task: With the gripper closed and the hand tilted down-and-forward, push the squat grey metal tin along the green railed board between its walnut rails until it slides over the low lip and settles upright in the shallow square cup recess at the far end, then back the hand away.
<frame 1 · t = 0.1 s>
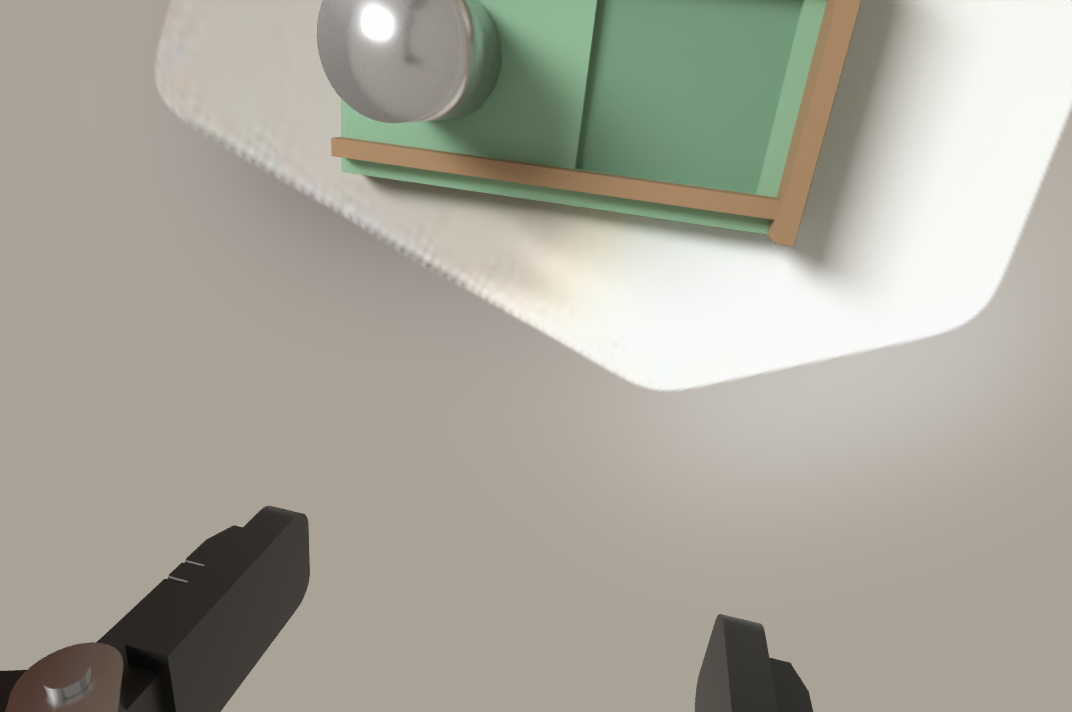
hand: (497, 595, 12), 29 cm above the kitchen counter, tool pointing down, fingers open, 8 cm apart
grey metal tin: (443, 55, 35), point 2 cm above the kitchen counter, touching green railed board
green railed board: (574, 71, 35), on the kitchen counter
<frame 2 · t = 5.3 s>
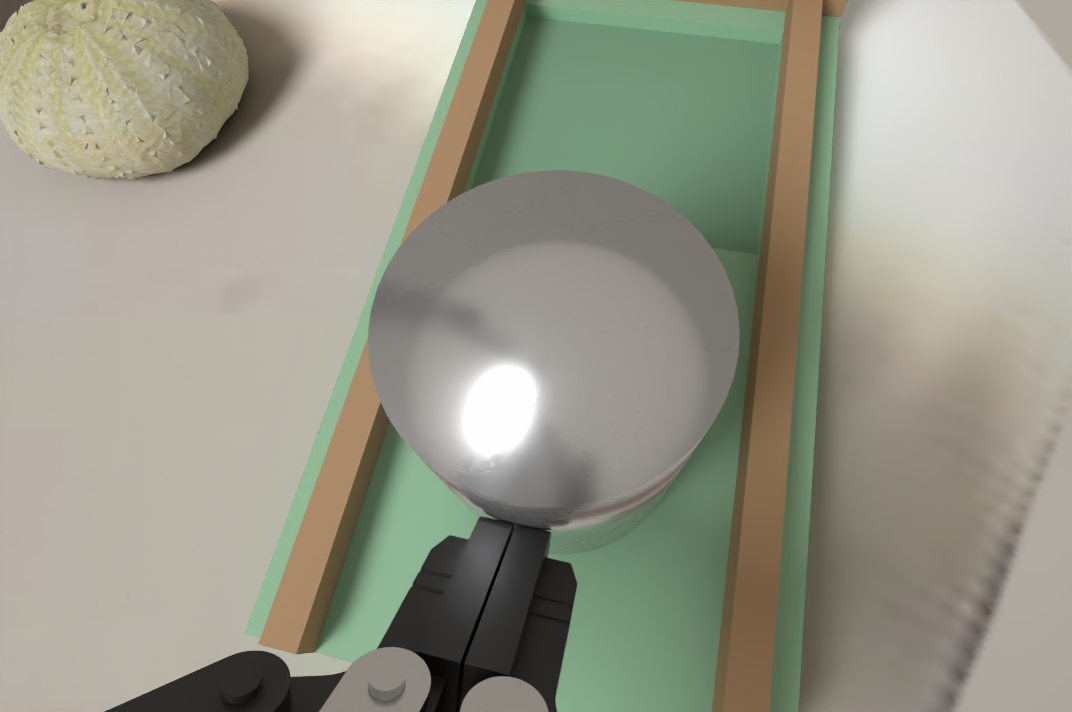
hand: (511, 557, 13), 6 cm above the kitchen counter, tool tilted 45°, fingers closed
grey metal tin: (560, 434, 18), point 2 cm above the kitchen counter, touching gripper, green railed board
green railed board: (596, 287, 22), on the kitchen counter
sea urchin shell: (159, 114, 27), on the kitchen counter
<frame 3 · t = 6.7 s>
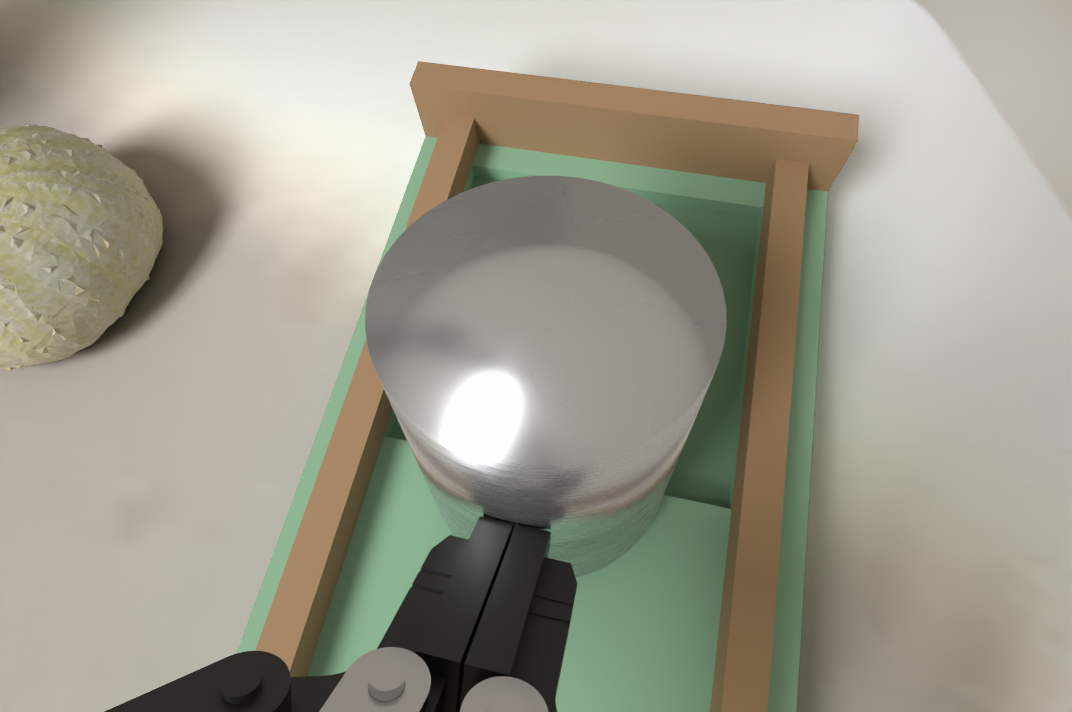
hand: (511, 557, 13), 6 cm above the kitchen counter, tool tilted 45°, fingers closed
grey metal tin: (547, 460, 18), point 2 cm above the kitchen counter, tilted 10°, touching gripper, green railed board
green railed board: (546, 517, 19), on the kitchen counter
sea urchin shell: (65, 276, 24), on the kitchen counter
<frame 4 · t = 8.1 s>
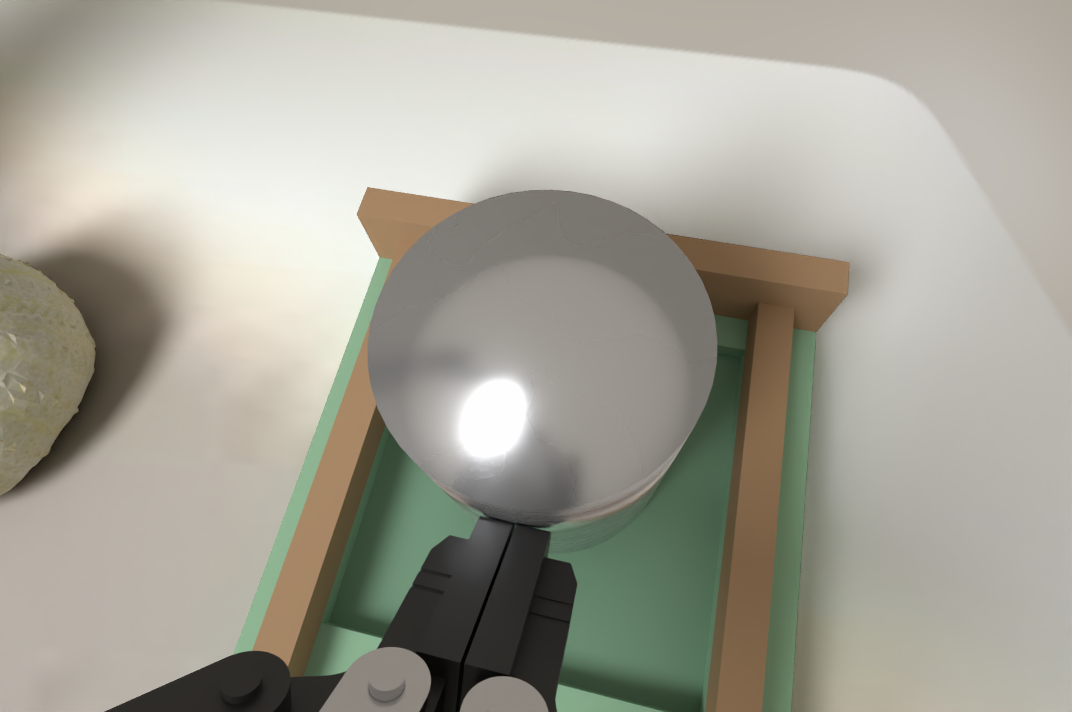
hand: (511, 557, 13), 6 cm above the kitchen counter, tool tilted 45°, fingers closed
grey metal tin: (552, 438, 19), point 1 cm above the kitchen counter, touching gripper, green railed board
green railed board: (502, 704, 17), on the kitchen counter
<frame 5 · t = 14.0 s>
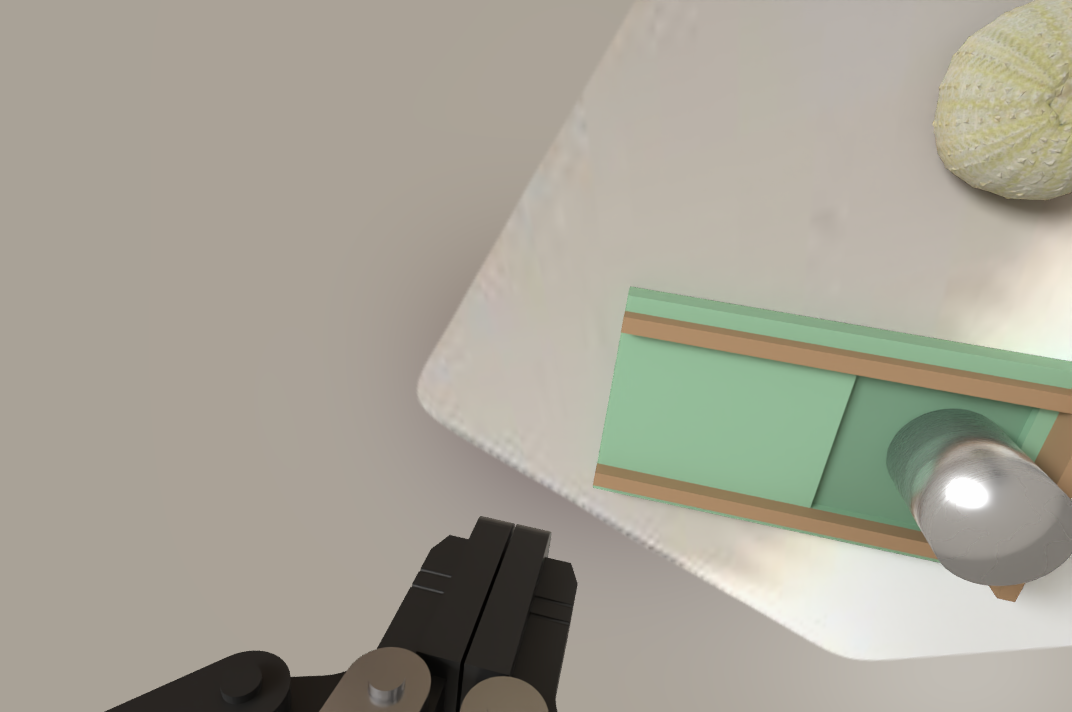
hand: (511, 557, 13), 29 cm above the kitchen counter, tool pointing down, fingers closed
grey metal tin: (945, 457, 39), point 1 cm above the kitchen counter, touching green railed board
green railed board: (810, 423, 41), on the kitchen counter
sea urchin shell: (1018, 103, 33), on the kitchen counter
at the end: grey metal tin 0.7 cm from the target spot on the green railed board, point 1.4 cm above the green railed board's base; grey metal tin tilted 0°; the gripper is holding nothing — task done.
